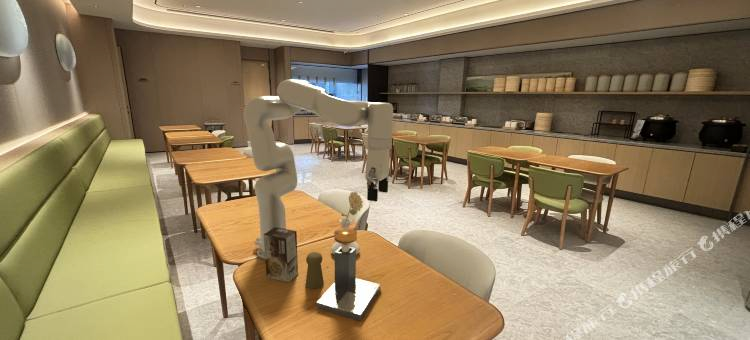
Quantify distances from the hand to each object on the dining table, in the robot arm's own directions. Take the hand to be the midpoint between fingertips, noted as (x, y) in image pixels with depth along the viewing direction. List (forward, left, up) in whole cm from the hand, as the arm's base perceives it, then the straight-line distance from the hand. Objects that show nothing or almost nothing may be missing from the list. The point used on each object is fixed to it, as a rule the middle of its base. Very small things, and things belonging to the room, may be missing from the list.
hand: (377, 196), depth 102 cm
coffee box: (-30, -11, -30) cm, 44 cm away
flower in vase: (-17, +13, -30) cm, 37 cm away
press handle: (-7, -9, -23) cm, 26 cm away
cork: (-17, -11, -30) cm, 37 cm away
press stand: (-3, -13, -30) cm, 33 cm away
